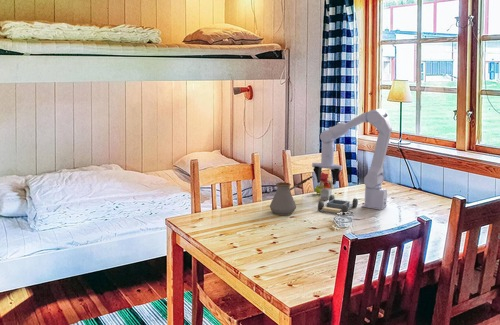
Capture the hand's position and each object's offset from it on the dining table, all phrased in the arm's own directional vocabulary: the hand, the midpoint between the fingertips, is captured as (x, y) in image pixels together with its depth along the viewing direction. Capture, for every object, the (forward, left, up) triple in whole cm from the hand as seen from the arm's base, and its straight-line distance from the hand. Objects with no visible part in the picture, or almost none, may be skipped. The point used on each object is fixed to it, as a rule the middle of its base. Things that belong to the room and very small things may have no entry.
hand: (326, 183), depth 241 cm
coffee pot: (+4, +28, -8) cm, 29 cm away
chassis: (-11, +13, -8) cm, 19 cm away
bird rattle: (+5, -9, -8) cm, 13 cm away
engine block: (0, 0, -8) cm, 8 cm away
